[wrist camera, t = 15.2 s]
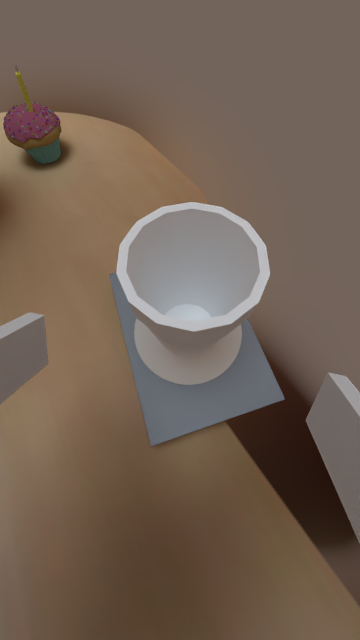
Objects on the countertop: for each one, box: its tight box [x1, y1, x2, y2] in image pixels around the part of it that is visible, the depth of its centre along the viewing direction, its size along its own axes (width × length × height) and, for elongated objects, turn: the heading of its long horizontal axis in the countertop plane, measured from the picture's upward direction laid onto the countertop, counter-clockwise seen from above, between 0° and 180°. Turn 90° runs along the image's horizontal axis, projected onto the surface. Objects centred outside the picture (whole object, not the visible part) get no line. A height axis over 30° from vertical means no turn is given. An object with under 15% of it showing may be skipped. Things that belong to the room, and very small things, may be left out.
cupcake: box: [3, 65, 61, 164], centre depth 38 cm, size 9×8×12 cm
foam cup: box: [116, 202, 270, 358], centre depth 21 cm, size 10×9×13 cm
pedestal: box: [109, 273, 285, 446], centre depth 29 cm, size 20×14×3 cm
